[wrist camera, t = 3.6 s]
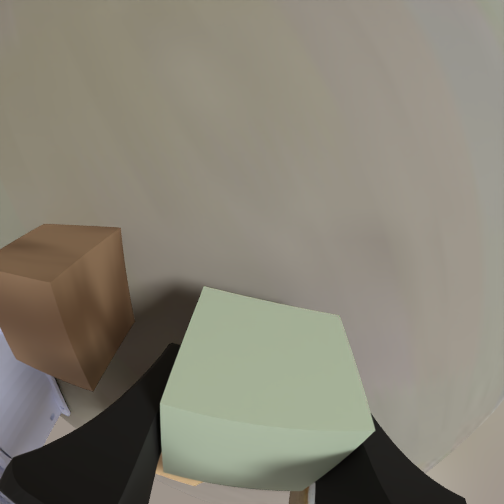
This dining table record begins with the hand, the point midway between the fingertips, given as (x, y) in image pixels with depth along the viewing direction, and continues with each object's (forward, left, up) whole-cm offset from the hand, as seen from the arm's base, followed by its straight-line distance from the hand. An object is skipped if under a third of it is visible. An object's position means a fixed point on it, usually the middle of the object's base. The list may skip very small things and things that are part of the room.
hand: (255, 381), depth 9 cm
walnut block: (0, +9, -4) cm, 10 cm away
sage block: (0, 0, -2) cm, 2 cm away
